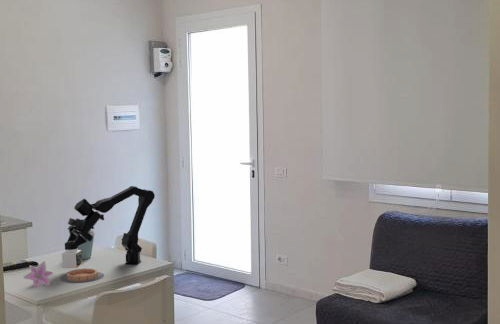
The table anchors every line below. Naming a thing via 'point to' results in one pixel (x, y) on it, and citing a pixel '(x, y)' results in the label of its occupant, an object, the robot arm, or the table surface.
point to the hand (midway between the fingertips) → (68, 247)
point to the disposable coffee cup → (87, 247)
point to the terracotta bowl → (82, 274)
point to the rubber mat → (64, 279)
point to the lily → (39, 274)
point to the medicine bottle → (71, 256)
